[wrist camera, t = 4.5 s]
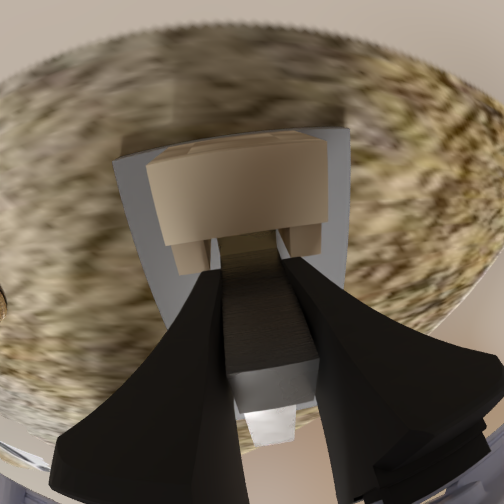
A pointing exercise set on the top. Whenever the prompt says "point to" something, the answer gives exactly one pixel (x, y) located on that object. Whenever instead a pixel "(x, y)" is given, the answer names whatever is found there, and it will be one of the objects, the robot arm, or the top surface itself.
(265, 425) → the outer sleeve
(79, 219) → the top surface
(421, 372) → the robot arm
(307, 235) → the socket block
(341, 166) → the base board
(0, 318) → the sprinkles bottle
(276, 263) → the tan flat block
